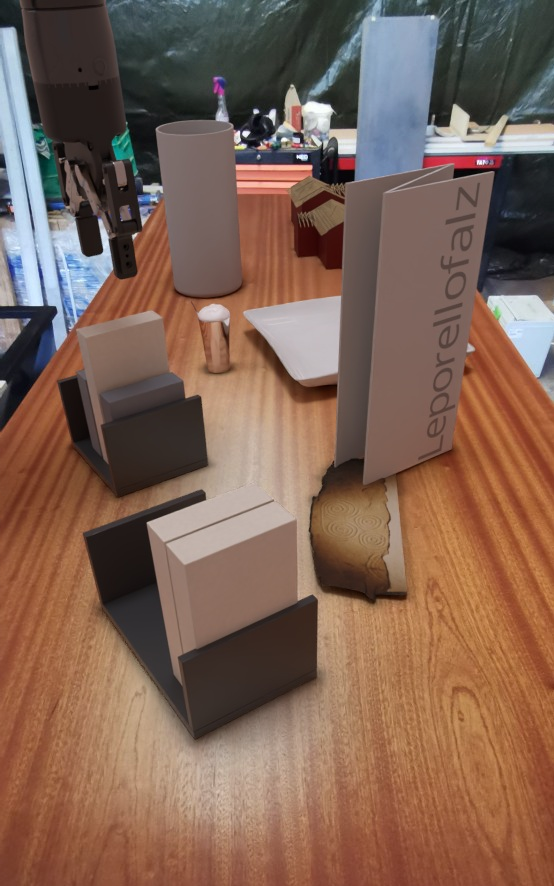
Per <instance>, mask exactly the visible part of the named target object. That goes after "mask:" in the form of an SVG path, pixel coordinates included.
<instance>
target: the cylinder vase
mask: <svg viewBox="0 0 554 886" xmlns="http://www.w3.org/2000/svg"><path fill="white" fill-rule="evenodd" d="M234 128H235V127H234V124H233V123H232V122H228V121H224V120H216V119H215V120H213V119H193V120H181V121H174V122H168V123H165V124H161V125H159V126H156V128H155V134H156V144H157V153H158V161H159V168H160V169H159V170H160V178H161V186H162V194H163V204H164V211H165V220H166V229H167V235H168V236H167V237H168V246H169V254H170V263H171V271H172V280H173V281H172V282H173V287H174V289H175V290H176V291H177V292H178V293H179V294H182V295H183V296H187V297H191V298H199V299H201V298H202V299H205V298H207V299H209V298H217V297H222V296H223V297H224V296H226V295H229V294H232V293H234V292H236V291H237V290H238V289H239V288H240V287H241V286H242V283H243V271H242V251H241V236H240V235H241V233H240V217H239V198H238V181H237V165H236V163H237V162H236V147H235V146H236V145H235V130H234Z"/></svg>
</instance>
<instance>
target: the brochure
mask: <svg viewBox="0 0 554 886" xmlns="http://www.w3.org/2000/svg"><path fill="white" fill-rule="evenodd" d="M454 171H455V163H445V164H441V165H436V166H430V167H426V168H420V169H419V168H418V169H415V170H414V169H413V170H407V171H403V172H397V173H392V174H387V175H382V176H375V177H372V178H365V179H361V180H355V181H348V182H345V183H344V184H345V186H344V188H345V209H344V234H343V259H342V268H341V285H340V286H341V287H340V296H341V309H340V334H339V359H338V384H337V387H336V389H337V390H336V410H335V411H336V412H335V413H336V415H335V437H334V459H333V461H334V467H337V466H338V465H340V464H342V463H344V462H345V461H349V460H350V459H352V458H358V459H364V474H363V485H367V484H369V483H372V482H374V481H376V480H378V479H381V478H386V477H388V476H390V475H393V474H395V473H396V474H397V473H399V472H402V471H404V470H406V469H409V468H411V467H414V466H416V465H418V464H420V463H423V462H425V461H428V460H430V459H432V458H434V457H437V456H439V455H441V454H444V453H447V452H449V451H450V450H452V449H453V442H454V437H455V430H456V425H457V417H458V410H459V404H460V399H461V393H462V392H461V391H462V386H463V385H462V384H463V379H464V371H465V365H466V358H467V357H466V353H467V347H468V343H469V338H470V332H471V326H472V320H473V314H474V307H475V301H476V296H477V295H476V294H477V288H478V281H479V275H480V269H481V262H482V256H483V250H484V244H485V243H484V242H485V237H486V236H485V235H486V229H487V223H488V217H489V211H490V203H491V197H492V191H493V184H494V177H495V171H486V172H482V173H477V174H471V175H466V176H461V177H457V178H454V174H455V173H454Z"/></svg>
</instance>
